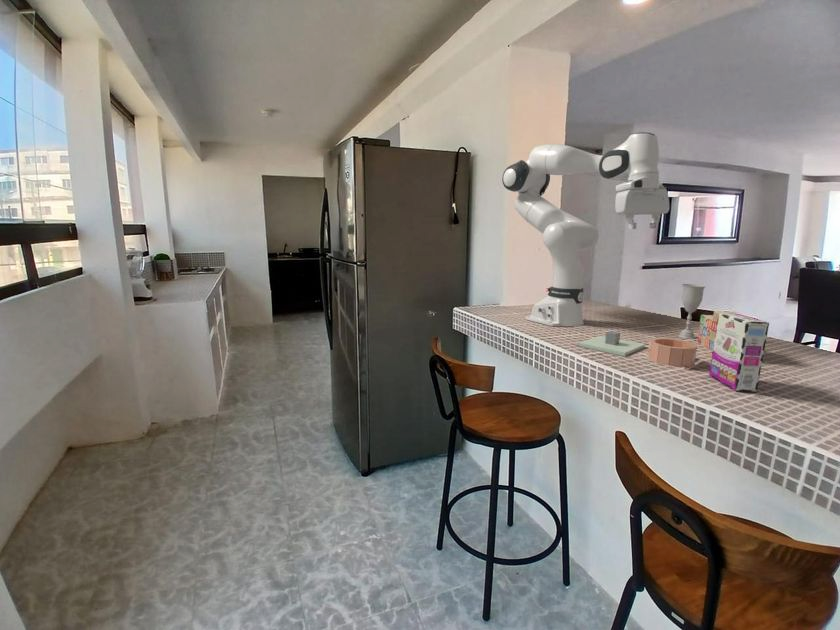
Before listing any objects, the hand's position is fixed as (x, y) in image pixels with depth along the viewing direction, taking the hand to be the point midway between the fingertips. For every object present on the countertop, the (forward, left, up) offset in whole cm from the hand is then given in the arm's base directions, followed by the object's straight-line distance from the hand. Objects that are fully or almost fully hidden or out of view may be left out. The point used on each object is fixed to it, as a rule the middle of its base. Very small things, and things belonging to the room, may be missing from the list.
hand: (643, 228), depth 138 cm
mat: (+2, -19, -37) cm, 41 cm away
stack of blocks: (+25, +5, -37) cm, 45 cm away
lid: (+2, -19, -36) cm, 41 cm away
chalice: (+12, +16, -37) cm, 42 cm away
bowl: (+19, -20, -37) cm, 46 cm away
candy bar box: (+35, -27, -37) cm, 57 cm away
